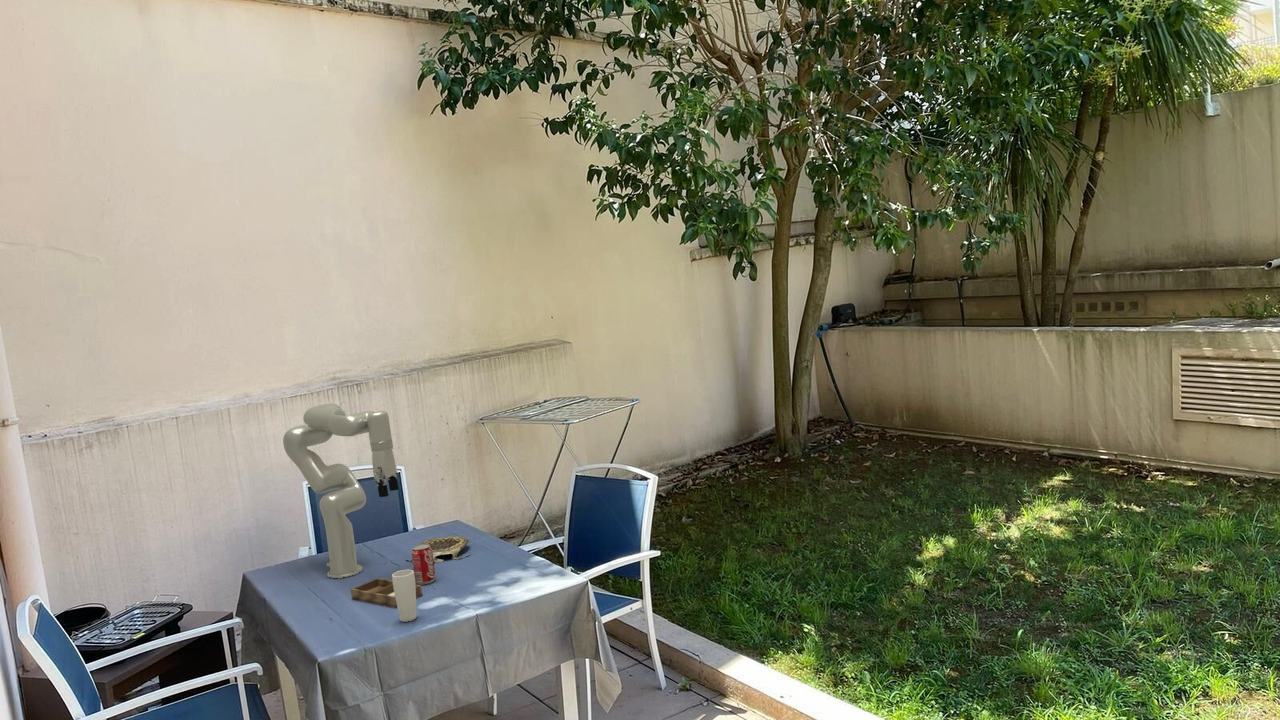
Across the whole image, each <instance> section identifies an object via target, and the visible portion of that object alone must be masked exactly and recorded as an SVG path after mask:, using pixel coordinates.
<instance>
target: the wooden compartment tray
mask: <svg viewBox="0 0 1280 720" xmlns="http://www.w3.org/2000/svg"><path fill="white" fill-rule="evenodd" d="M415 586H416V599H418V598H420V597H422V596H423V589H422V587H423V586H422V585H419V584H417V583H415ZM350 595H351V600H355V601H359V602H363V603H369V604H375V605H378V604H379V605H378V606H383V605H385V606H384V607H388V606H389V608H393V607H395V609H397V608H398V607H397V602H396V598H395V593H394V589H393V582H392V579H386V578H380V577H377V578H375V579H372V580H370V581H368V582H365V583H362V584H360V585H358V586H355V587H353V588H350ZM396 607H397V608H396Z"/></svg>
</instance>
